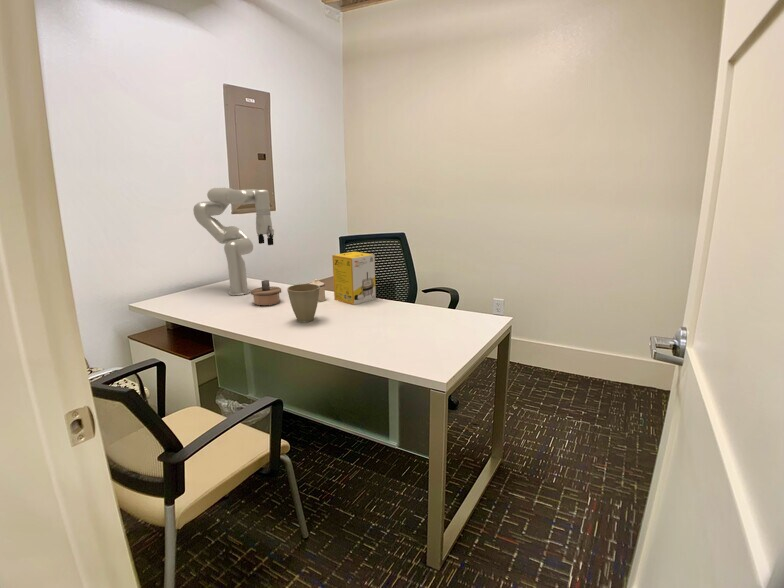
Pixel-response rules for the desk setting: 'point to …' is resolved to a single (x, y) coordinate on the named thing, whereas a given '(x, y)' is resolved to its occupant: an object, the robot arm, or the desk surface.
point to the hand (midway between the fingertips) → (266, 244)
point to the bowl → (266, 299)
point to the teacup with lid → (321, 290)
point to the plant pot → (304, 300)
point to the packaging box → (354, 277)
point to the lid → (265, 290)
